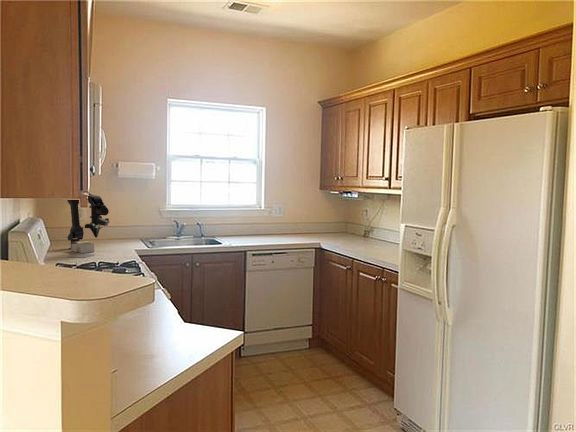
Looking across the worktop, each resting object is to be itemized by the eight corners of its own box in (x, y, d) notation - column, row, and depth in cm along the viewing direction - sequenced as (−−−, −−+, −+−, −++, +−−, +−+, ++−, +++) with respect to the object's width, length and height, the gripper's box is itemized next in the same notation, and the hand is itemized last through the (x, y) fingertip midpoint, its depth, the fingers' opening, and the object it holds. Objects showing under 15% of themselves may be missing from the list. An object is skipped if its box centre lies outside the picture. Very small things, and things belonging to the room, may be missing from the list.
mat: (78, 254, 319) (78, 253, 319) (95, 254, 318) (95, 254, 318) (67, 257, 308) (67, 256, 308) (84, 257, 306) (84, 257, 306)
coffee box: (81, 244, 322) (70, 241, 332) (81, 253, 322) (70, 250, 333) (94, 242, 328) (83, 240, 339) (94, 252, 329) (84, 249, 340)
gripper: (99, 216, 319) (100, 239, 320) (113, 213, 337) (114, 236, 338) (83, 215, 320) (84, 239, 321) (98, 213, 338) (99, 235, 340)
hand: (96, 237), depth 330 cm, fingers closed
